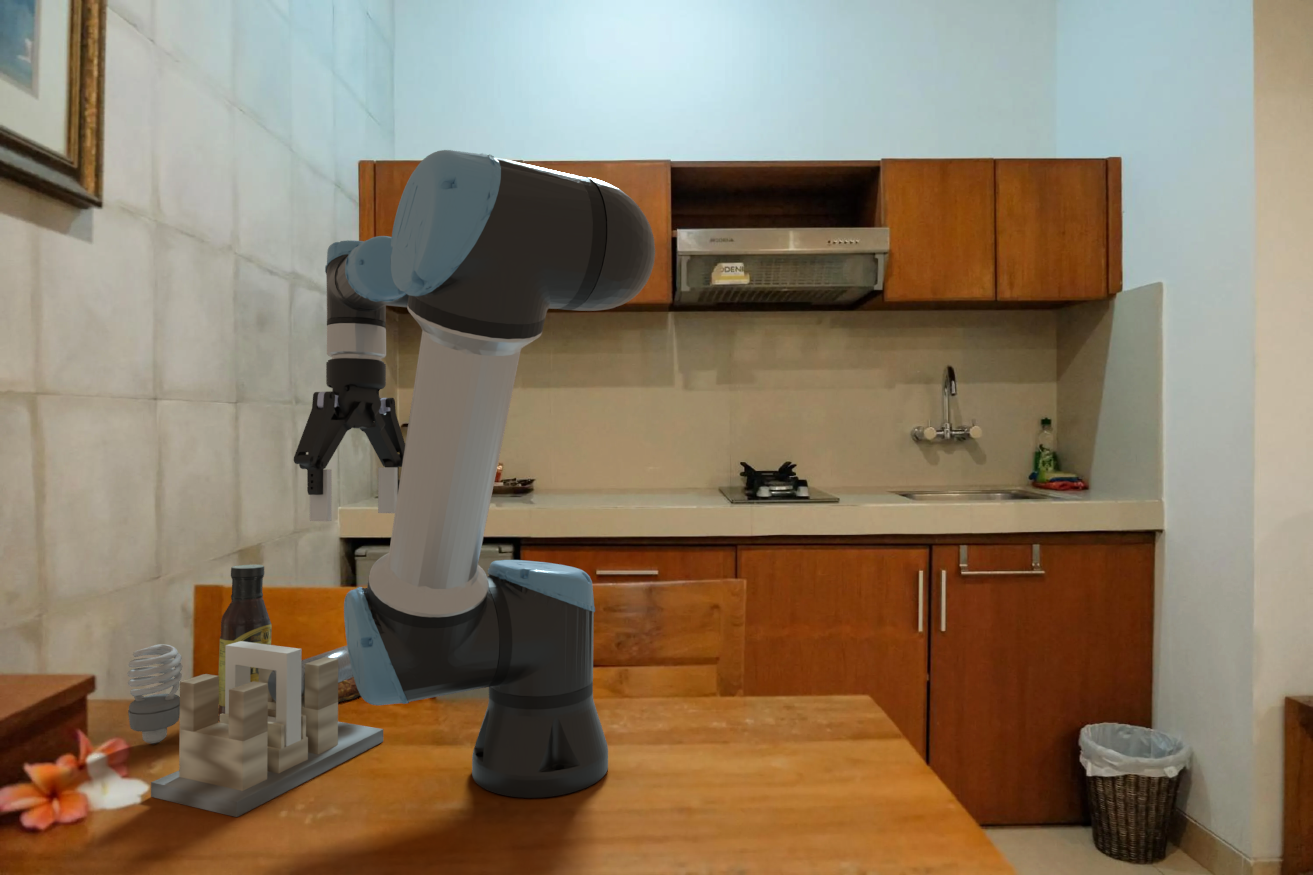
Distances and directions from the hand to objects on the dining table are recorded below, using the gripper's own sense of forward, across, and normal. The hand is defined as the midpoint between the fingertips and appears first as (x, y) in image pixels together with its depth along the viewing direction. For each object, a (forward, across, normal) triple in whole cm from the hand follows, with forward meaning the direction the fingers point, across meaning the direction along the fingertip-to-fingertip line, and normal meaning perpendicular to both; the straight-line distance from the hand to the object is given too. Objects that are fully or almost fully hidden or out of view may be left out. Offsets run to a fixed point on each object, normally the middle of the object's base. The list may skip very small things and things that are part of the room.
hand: (356, 517), depth 106 cm
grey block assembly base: (+27, +16, +2) cm, 32 cm away
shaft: (+20, +9, +3) cm, 22 cm away
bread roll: (+27, -7, -10) cm, 30 cm away
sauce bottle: (+27, +4, -15) cm, 31 cm away
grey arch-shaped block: (+23, +18, +2) cm, 30 cm away
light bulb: (+27, +16, -17) cm, 35 cm away
